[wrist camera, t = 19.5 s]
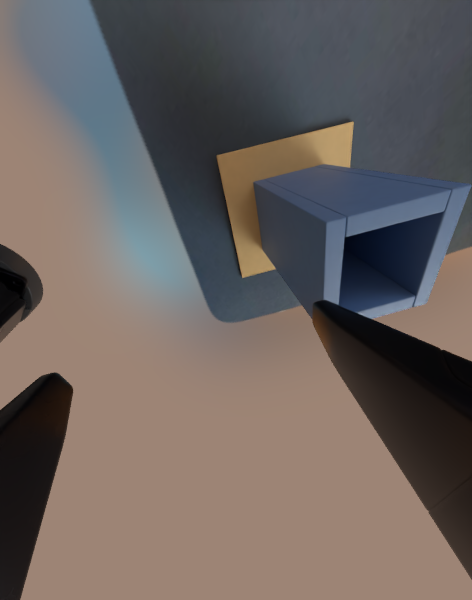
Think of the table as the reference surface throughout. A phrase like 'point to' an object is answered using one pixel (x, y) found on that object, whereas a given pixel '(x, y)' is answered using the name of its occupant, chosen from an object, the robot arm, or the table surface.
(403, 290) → the sleeve
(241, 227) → the mat
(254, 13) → the table surface
